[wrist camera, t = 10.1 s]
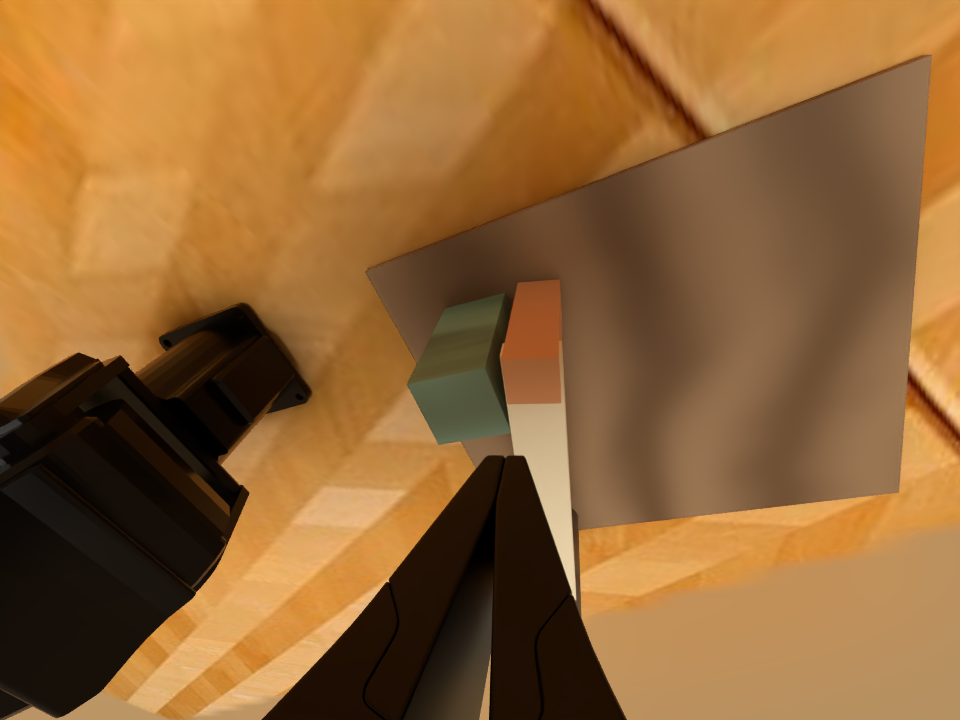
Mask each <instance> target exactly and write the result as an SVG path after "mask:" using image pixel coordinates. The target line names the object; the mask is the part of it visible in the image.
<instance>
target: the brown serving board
mask: <svg viewBox="0 0 960 720" xmlns="http://www.w3.org/2000/svg"><path fill="white" fill-rule="evenodd" d="M931 58H932V55H923V56H920V57H917V58H915V59H912V60H910V61H907V62H904V63H902V64H899V65H897V66H894V67H891V68H889V69H886V70H884V71H881V72H878V73H876V74H873V75H871V76H868V77H865V78H863V79H860V80H858V81H855V82H852V83H850V84H847V85H845V86H842V87H839V88H837V89H834V90H832V91H829V92H826V93H824V94H821V95H819V96H816V97H813V98H811V99H808V100H805V101H803V102H800V103H798V104H795V105H792V106H790V107H787V108H785V109H782V110H779V111H777V112H774V113H772V114H769V115H766V116H764V117H761V118H759V119H756V120H753V121H751V122H748V123H746V124H743V125H740V126H738V127H735V128H733V129H730V130H727V131H725V132H722V133H720V134H717V135H714V136H712V137H709V138H707V139H704V140H701V141H699V142H696V143H694V144H691V145H688V146H686V147H683V148H681V149H678V150H675V151H673V152H670V153H668V154H665V155H662V156H660V157H657V158H655V159H652V160H649V161H647V162H644V163H642V164H639V165H636V166H634V167H631V168H629V169H626V170H623V171H621V172H618V173H616V174H613V175H610V176H608V177H605V178H603V179H600V180H597V181H595V182H592V183H590V184H587V185H584V186H582V187H579V188H577V189H574V190H571V191H569V192H566V193H564V194H561V195H558V196H556V197H553V198H551V199H548V200H545V201H543V202H540V203H537V204H535V205H532V206H530V207H527V208H524V209H522V210H519V211H517V212H514V213H511V214H509V215H506V216H504V217H501V218H498V219H496V220H493V221H491V222H488V223H485V224H483V225H480V226H478V227H475V228H472V229H470V230H467V231H465V232H462V233H459V234H457V235H454V236H452V237H449V238H446V239H444V240H441V241H439V242H436V243H433V244H431V245H428V246H426V247H423V248H420V249H418V250H415V251H413V252H410V253H407V254H405V255H402V256H400V257H397V258H394V259H392V260H389V261H387V262H384V263H381V264H379V265H376V266H374V267H371V268H368V269H367V270H366V271H365V273H366V274H367V276H368V278H369V280H370V281H371V283H372V285H373V287H374V289H375V290H376V292H377V294H378V296H379V297H380V299H381V301H382V303H383V305H384V306H385V308H386V310H387V312H388V313H389V315H390V317H391V319H392V320H393V322H394V324H395V326H396V328H397V329H398V331H399V333H400V335H401V336H402V338H403V340H404V342H405V343H406V345H407V347H408V349H409V351H410V352H411V354H412V356H413V358H414V359H415V361H416V363H417V365H416V367H415V369H414V371H413V373H412V375H411V377H410V379H409V381H408V383H407V385H408V387H409V389H410V391H411V393H412V395H413V397H414V399H415V401H416V402H417V404H418V406H419V408H420V410H421V412H422V414H423V416H424V418H425V420H426V421H427V423H428V425H429V427H430V429H431V431H432V433H433V435H434V437H435V438H436V440H437V442H438V444H439V445H440V444H446V443H453V442H459V441H461V443H462V444H463V446H464V448H465V450H466V452H467V453H468V455H469V457H470V459H471V460H472V462H473V464H474V466H475V468H477V467H478V465H479V464H480V463H481V462H482V460H483V459H484V458H485V457H486V456H488V455H503V456H505V457H507V456H508V455H514V450H513V443H512V436H511V429H510V423H509V416H508V409H507V402H506V395H505V389H504V382H503V375H502V368H501V361H500V352H501V348H502V344H503V343H505V339H506V334H507V330H508V325H509V320H510V316H511V311H512V307H513V302H514V298H515V293H516V288H517V284H518V282H531V281H544V280H557V279H560V292H561V310H562V351H563V368H564V386H565V403H566V421H567V438H568V456H569V473H570V491H571V508H572V526H573V543H574V561H575V578H576V600H575V601H576V604H577V607H578V610H579V613H580V616H581V592H580V561H579V530H583V529H592V528H600V527H609V526H617V525H626V524H634V523H643V522H651V521H660V520H668V519H677V518H685V517H694V516H702V515H711V514H720V513H728V512H737V511H745V510H754V509H762V508H771V507H779V506H788V505H796V504H805V503H813V502H822V501H830V500H839V499H847V498H856V497H865V496H873V495H882V494H890V493H899V484H900V470H901V457H902V444H903V430H904V417H905V404H906V391H907V377H908V364H909V351H910V337H911V324H912V311H913V297H914V284H915V271H916V257H917V244H918V231H919V217H920V204H921V191H922V177H923V164H924V151H925V138H926V124H927V111H928V98H929V84H930V71H931Z"/></svg>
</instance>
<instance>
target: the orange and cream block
mask: <svg viewBox="0 0 960 720" xmlns="http://www.w3.org/2000/svg"><path fill="white" fill-rule="evenodd" d="M500 361H501V368H502V375H503V382H504V389H505V395H506V402H507V409H508V416H509V423H510V429H511V436H512V443H513V450H514V455H523V456H525V458H526V460H527V463H528V466H529V469H530V472H531V474H532V477H533V480H534V483H535V486H536V489H537V492H538V495H539V498H540V501H541V503H542V506H543V509H544V512H545V515H546V518H547V521H548V524H549V527H550V530H551V532H552V535H553V538H554V541H555V544H556V547H557V550H558V553H559V556H560V558H561V561H562V564H563V567H564V570H565V573H566V576H567V579H568V582H569V585H570V587H571V590H572V595H573V596H574V598H575V600H576V578H575V561H574V543H573V526H572V508H571V491H570V473H569V456H568V438H567V421H566V403H565V386H564V368H563V351H562V310H561V292H560V279H557V280H544V281H531V282H518V284H517V288H516V293H515V298H514V302H513V307H512V311H511V316H510V320H509V325H508V330H507V334H506V339H505V343H503V344H502V348H501V352H500Z"/></svg>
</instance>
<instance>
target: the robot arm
mask: <svg viewBox="0 0 960 720" xmlns="http://www.w3.org/2000/svg"><path fill="white" fill-rule="evenodd" d="M239 312H240V313H241V314H242V315H243V316H242V315H240V314H239ZM159 342H160V344H161V345H162V347H163V348H164V349H165V350H166V352H165V353H163V354H162V355H161V356H159V357H158V358H156V359H155V360H154V361H152V362H151V363H149V364H148V365H146V366H145V367H144V368H142V369H141V370H139V371H138V372H136V373H135V374H134V373H133V372H132V370H131V369H130V368H129V367H128V366H130V365H129V364H128V363H127V362H126V361H125V360H124V358H123V357H122V356H121V355H119V356H116V357H114V358H111V359H109V360H106V361H104V362H101V361H100V360H99V359H94V358H91V357H89V356H86V355H84V354H81V353H76V354H74V355H71V356H69V357H68V358H66V359H64V360H62V361H61V362H59V363H57V364H55V365H54V366H52V367H50V368H48V369H47V370H45V371H43V372H42V373H40V374H38V375H36V376H35V377H33V378H31V379H30V380H28V381H27V382H25V383H23V384H22V385H20V386H19V387H17V388H16V389H14V390H13V391H12V392H10V393H9V394H7V395H6V396H4V397H3V398H1V399H0V720H5V719H7V718H9V717H11V716H13V715H16V714H18V713H20V712H22V711H24V710H26V709H28V708H30V707H35V708H37V709H39V710H41V711H43V712H45V713H46V714H49V715H50V716H52V717H54V718H59V717H62V716H64V715H66V714H68V713H70V712H71V711H73V710H74V709H76V708H77V707H79V706H80V705H82V704H83V703H85V702H87V701H88V700H90V699H91V698H93V697H94V696H96V695H97V694H98V693H100V692H101V691H102V690H103V689H104V688H105V686H106V685H107V684H108V683H109V682H110V681H111V679H112V678H113V677H114V676H115V675H116V673H117V672H118V671H119V670H120V669H121V667H122V666H123V665H124V664H125V663H126V662H127V660H128V659H129V658H130V657H131V656H132V654H133V653H134V652H135V651H136V650H137V649H138V648H139V647H140V646H141V644H142V643H143V642H144V641H145V640H146V639H147V638H148V637H149V636H150V635H151V634H152V633H153V632H154V631H155V630H156V629H157V628H158V627H159V626H160V625H161V624H162V623H163V622H164V621H165V620H166V619H168V618H169V617H170V616H171V615H172V614H174V613H175V612H176V611H177V610H179V609H180V608H181V607H182V606H184V605H185V604H186V603H187V602H189V601H190V600H191V599H192V598H193V597H194V596H195V594H196V592H197V591H198V590H199V589H200V588H201V587H202V586H203V584H204V583H205V582H206V581H207V580H208V579H209V577H210V576H211V575H212V573H213V572H214V570H215V569H216V567H217V565H218V564H219V562H220V560H221V558H222V555H223V553H224V551H225V549H226V546H227V544H228V542H229V539H230V537H231V535H232V532H233V530H234V528H235V526H236V523H237V521H238V519H239V516H240V514H241V512H242V509H243V507H244V505H245V503H246V500H247V498H248V496H249V492H248V491H247V489H246V488H245V487H244V486H243V485H239V484H238V483H237V482H236V481H235V480H234V479H233V478H232V476H231V475H230V474H229V473H228V472H227V471H226V470H225V469H224V468H223V467H222V466H221V464H222V463H223V462H224V461H225V460H226V459H227V457H228V456H229V455H230V454H231V453H232V452H233V450H234V449H235V448H236V447H237V446H238V445H239V444H240V442H241V441H242V440H243V439H244V438H245V437H246V436H247V434H248V433H249V432H250V431H251V430H252V429H253V428H254V426H255V425H256V424H257V423H258V422H259V421H260V420H261V418H262V417H263V416H264V415H265V414H268V413H271V412H275V411H279V410H282V409H286V408H290V407H293V406H297V405H300V404H304V403H306V402H307V401H308V400H309V398H310V397H311V393H310V391H309V390H308V388H307V387H306V385H305V384H304V383H303V381H302V380H301V379H300V377H299V376H298V375H297V373H296V372H295V370H294V369H293V368H292V366H291V365H290V364H289V362H288V361H287V359H286V358H285V357H284V355H283V354H282V353H281V351H280V350H279V348H278V347H277V346H276V344H275V343H274V342H273V340H272V339H271V338H270V336H269V335H268V333H267V332H266V331H265V329H264V328H263V327H262V325H261V324H260V322H259V321H258V320H257V318H256V317H255V316H254V314H253V313H252V311H251V310H250V309H249V308H248V307H247V306H245V305H243V304H236V305H234V306H231V307H229V308H226V309H224V310H221V311H219V312H216V313H214V314H211V315H209V316H206V317H204V318H201V319H199V320H196V321H194V322H191V323H189V324H186V325H184V326H181V327H179V328H176V329H174V330H171V331H169V332H166V333H165V334H163V335H162V336H160V337H159ZM300 394H301V395H300ZM490 654H491V672H490V706H489V720H627V719H626V717H625V715H624V713H623V711H622V709H621V707H620V705H619V703H618V701H617V699H616V697H615V695H614V693H613V691H612V689H611V687H610V684H609V683H608V680H607V678H606V676H605V674H604V671H603V669H602V667H601V665H600V663H599V661H598V658H597V656H596V654H595V652H594V650H593V647H592V645H591V642H590V640H589V637H588V634H587V632H586V629H585V626H584V624H583V621H582V619H581V616H580V613H579V610H578V607H577V604H576V601H575V598H574V596H573V595H572V590H571V587H570V585H569V582H568V579H567V576H566V573H565V570H564V567H563V564H562V561H561V558H560V556H559V553H558V550H557V547H556V544H555V541H554V538H553V535H552V532H551V530H550V527H549V524H548V521H547V518H546V515H545V512H544V509H543V506H542V503H541V501H540V498H539V495H538V492H537V489H536V486H535V483H534V480H533V477H532V474H531V472H530V469H529V466H528V463H527V460H526V458H525V456H523V455H508V456H507V457H505V456H503V455H488V456H486V457H485V458H484V459H483V460H482V462H481V463H480V464H479V465H478V467H477V468H476V469H475V471H474V472H473V473H472V474H471V476H470V477H469V478H468V479H467V481H466V482H465V483H464V484H463V486H462V487H461V488H460V490H459V491H458V492H457V493H456V495H455V496H454V497H453V498H452V500H451V501H450V502H449V503H448V505H447V506H446V507H445V509H444V510H443V511H442V512H441V514H440V515H439V516H438V517H437V519H436V520H435V521H434V522H433V524H432V525H431V526H430V528H429V529H428V530H427V531H426V533H425V534H424V535H423V536H422V538H421V539H420V540H419V542H418V543H417V544H416V545H415V547H414V548H413V549H412V550H411V552H410V553H409V554H408V555H407V557H406V558H405V559H404V561H403V562H402V563H401V564H400V566H399V567H398V568H397V569H396V571H395V572H394V573H393V574H392V576H391V577H390V578H389V582H386V583H385V584H384V586H383V587H382V588H381V589H380V591H379V592H378V593H377V594H376V596H375V597H374V598H373V599H372V601H371V602H370V603H369V604H368V606H367V607H366V608H365V609H364V610H363V612H362V613H361V614H360V615H359V616H358V618H357V619H356V620H355V621H354V622H353V623H352V625H351V626H350V627H349V628H348V629H347V630H346V631H345V632H344V633H343V634H342V636H341V637H340V638H339V639H338V640H337V641H336V642H335V643H334V644H333V645H332V646H331V648H330V649H329V650H328V651H327V652H326V653H325V654H324V655H323V656H322V657H321V658H320V659H319V660H318V661H317V662H316V663H315V664H314V666H313V667H312V668H311V669H310V670H309V671H308V672H307V673H306V674H305V675H304V676H303V677H302V678H301V679H300V680H299V681H298V682H297V683H296V684H295V685H294V687H293V688H292V689H291V690H290V691H289V692H288V693H287V694H286V695H285V696H284V697H283V698H282V699H281V700H280V701H279V702H278V703H277V704H276V705H275V707H274V708H273V709H272V710H271V711H270V712H269V713H268V714H267V715H266V716H265V717H264V718H263V719H262V720H479V717H480V710H481V706H482V700H483V693H484V688H485V683H486V677H487V671H488V666H489V660H490Z"/></svg>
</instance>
